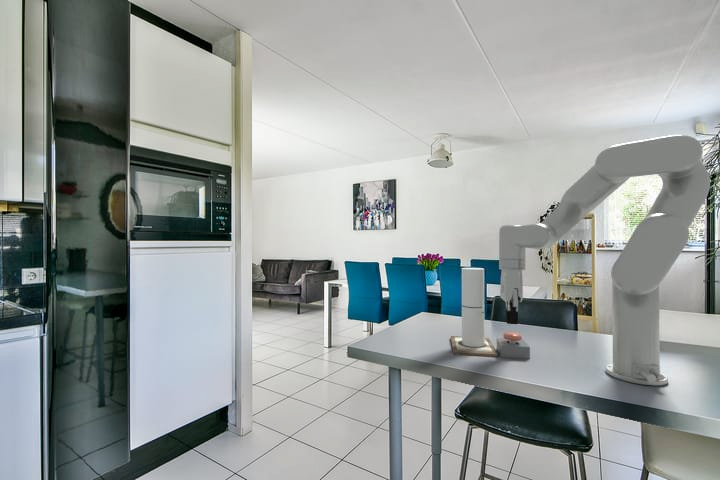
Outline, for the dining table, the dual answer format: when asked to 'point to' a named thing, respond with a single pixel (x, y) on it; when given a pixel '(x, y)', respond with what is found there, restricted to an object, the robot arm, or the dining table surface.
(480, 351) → the sketch board
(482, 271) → the cylindrical container
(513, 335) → the button
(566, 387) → the dining table surface
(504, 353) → the button housing
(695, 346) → the dining table surface
